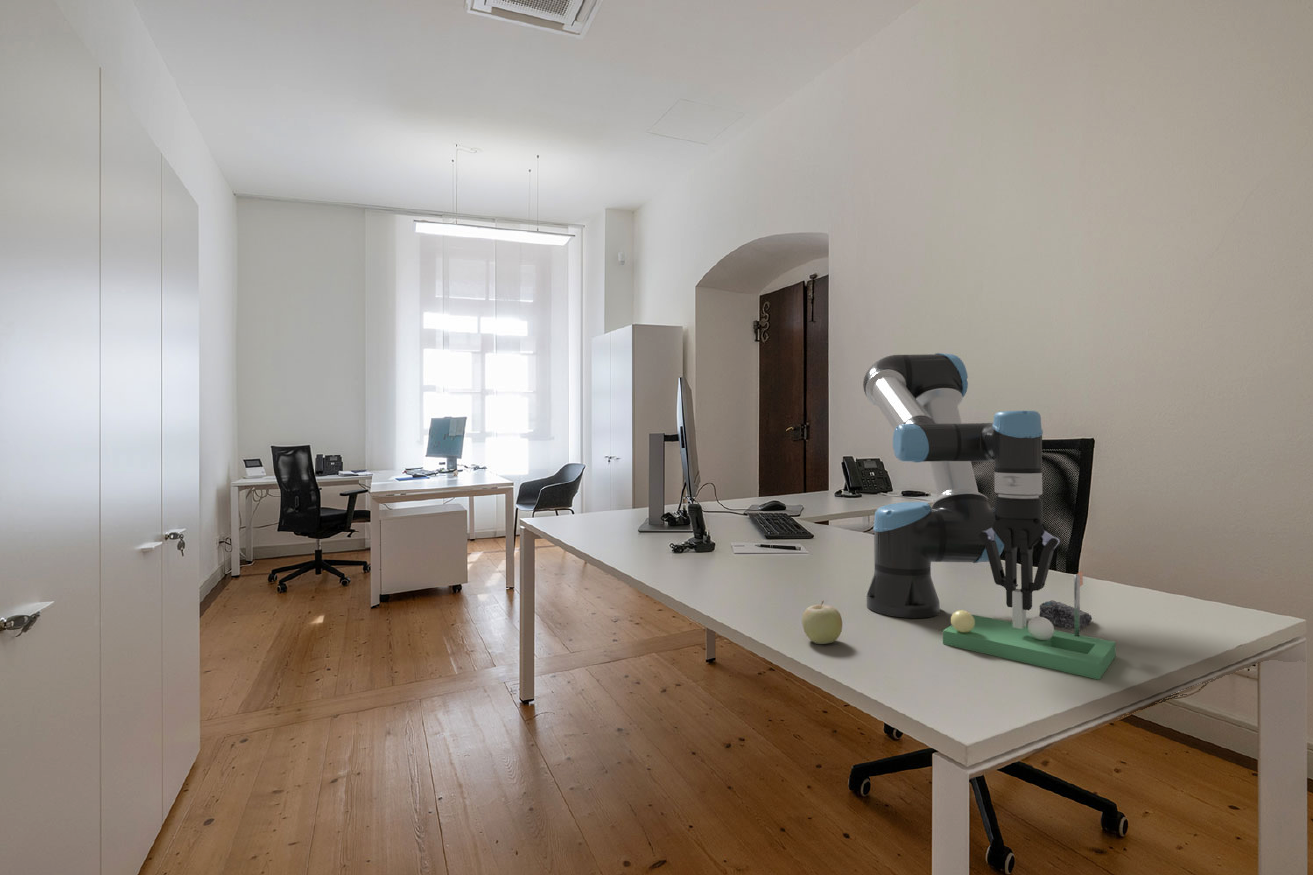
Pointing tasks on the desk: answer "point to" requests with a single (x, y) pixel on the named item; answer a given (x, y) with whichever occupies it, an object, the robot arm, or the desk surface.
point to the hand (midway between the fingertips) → (1019, 626)
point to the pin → (1077, 602)
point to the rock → (1062, 615)
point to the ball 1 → (962, 621)
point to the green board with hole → (1035, 647)
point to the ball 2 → (1040, 628)
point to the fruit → (822, 623)
